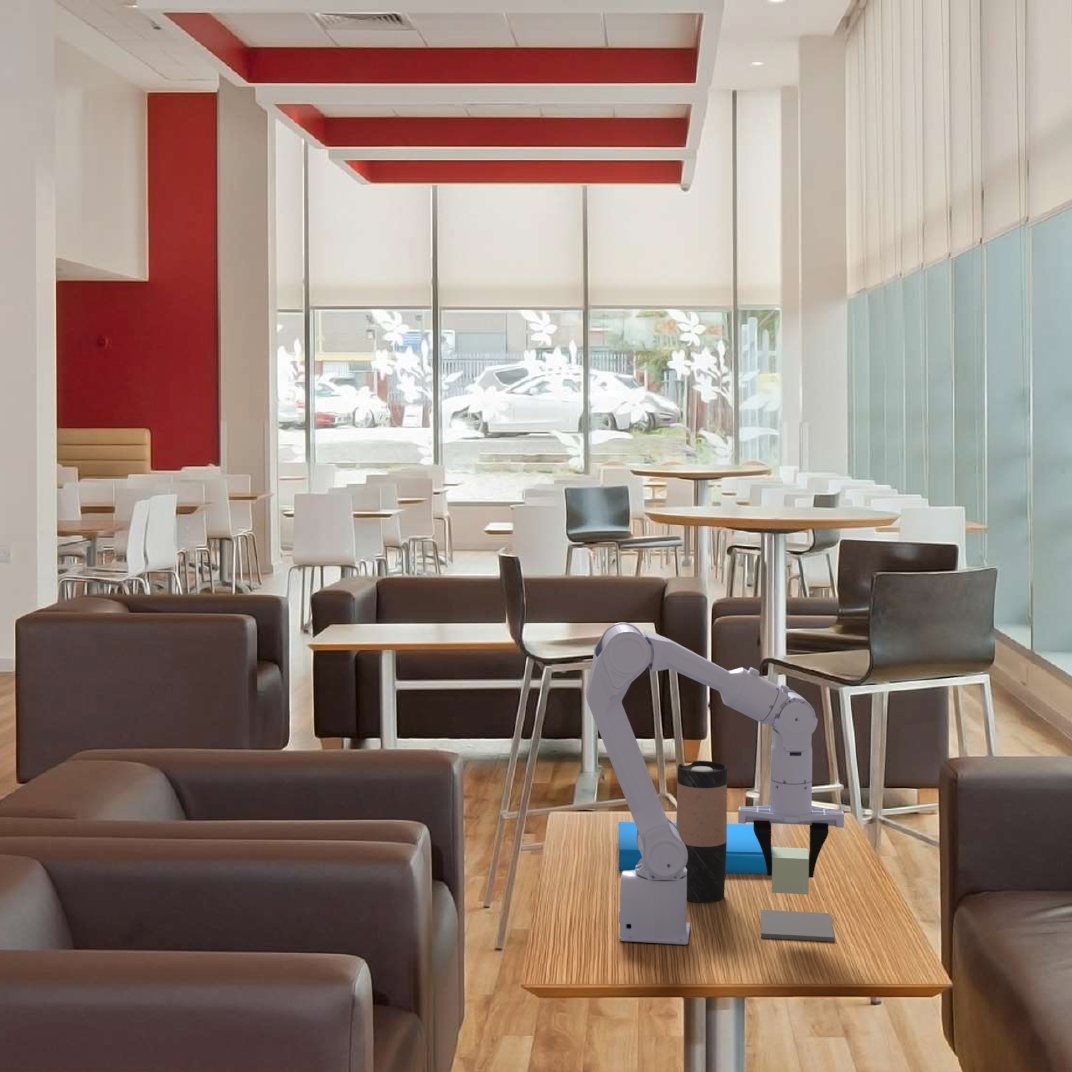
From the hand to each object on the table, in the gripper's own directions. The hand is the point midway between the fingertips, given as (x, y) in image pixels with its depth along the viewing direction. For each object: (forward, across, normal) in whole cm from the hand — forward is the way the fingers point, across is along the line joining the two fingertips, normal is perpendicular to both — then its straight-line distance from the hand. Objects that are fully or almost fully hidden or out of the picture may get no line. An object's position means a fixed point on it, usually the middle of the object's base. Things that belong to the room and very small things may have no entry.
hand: (790, 874), depth 201 cm
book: (+9, -16, +34) cm, 38 cm away
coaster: (+8, +1, +3) cm, 9 cm away
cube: (+2, 0, 0) cm, 2 cm away
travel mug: (+9, -13, +15) cm, 21 cm away
